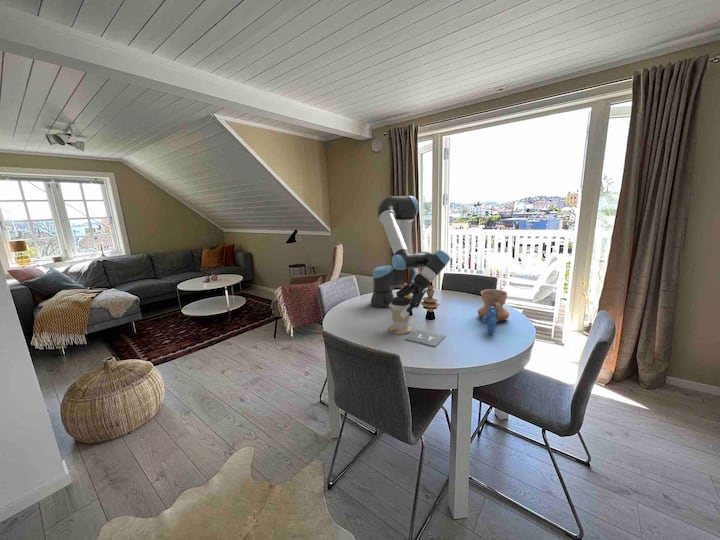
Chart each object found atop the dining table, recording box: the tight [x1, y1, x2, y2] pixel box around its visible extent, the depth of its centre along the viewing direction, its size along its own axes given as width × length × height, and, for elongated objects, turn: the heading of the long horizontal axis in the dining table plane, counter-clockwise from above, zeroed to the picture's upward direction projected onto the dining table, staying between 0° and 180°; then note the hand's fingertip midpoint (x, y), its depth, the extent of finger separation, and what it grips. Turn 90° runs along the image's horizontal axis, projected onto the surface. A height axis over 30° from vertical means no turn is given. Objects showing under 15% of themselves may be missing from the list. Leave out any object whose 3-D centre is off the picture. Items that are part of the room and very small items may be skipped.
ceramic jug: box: [477, 288, 510, 322], centre depth 148 cm, size 18×14×14 cm
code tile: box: [404, 329, 446, 348], centre depth 130 cm, size 14×12×1 cm
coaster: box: [388, 324, 413, 335], centre depth 141 cm, size 11×11×1 cm
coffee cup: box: [391, 296, 411, 331], centre depth 139 cm, size 9×9×15 cm
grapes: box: [481, 306, 499, 335], centre depth 133 cm, size 12×7×12 cm, turn 157°
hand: (395, 312), depth 138 cm, fingers open, 13 cm apart
